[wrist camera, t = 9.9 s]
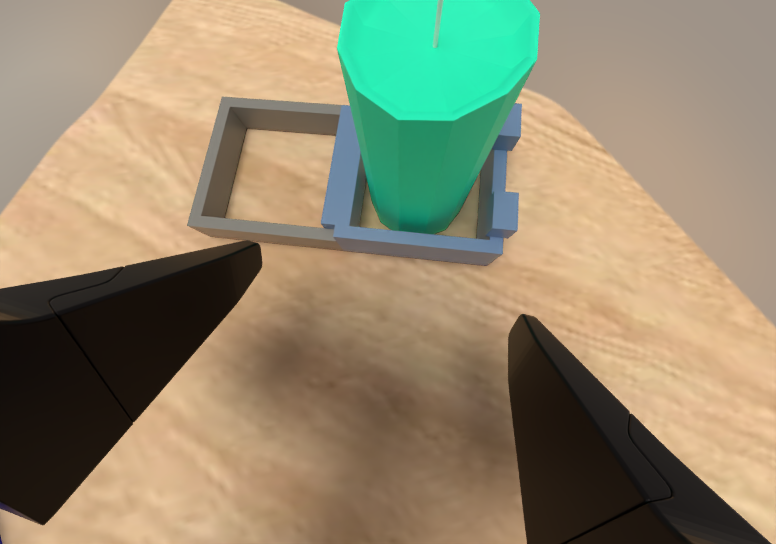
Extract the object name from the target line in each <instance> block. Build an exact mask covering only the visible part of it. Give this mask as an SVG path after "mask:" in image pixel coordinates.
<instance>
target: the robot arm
mask: <svg viewBox="0 0 776 544" xmlns="http://www.w3.org/2000/svg"><path fill="white" fill-rule="evenodd" d="M261 268H262V256H261V247H260V245H259V244H258V243H256V242H252V241H248V240H246V241H241V242H236V243H232V244H227V245H222V246H217V247H213V248H208V249H203V250H198V251H194V252H189V253H184V254H179V255H175V256H170V257H165V258H160V259H156V260H151V261H146V262H141V263H137V264H132V265H127V266H125V267H117V268H113V269H108V270H103V271H98V272H93V273H88V274H83V275H77V276H72V277H66V278H60V279H55V280H49V281H43V282H37V283H31V284H25V285H19V286H14V287H8V288H2V289H0V509H3V510H5V511H8V512H10V513H13V514H15V515H18V516H20V517H23V518H25V519H28V520H30V521H33V522H35V523H38V524H40V525H45V524H46V523H47V522H48V521H49V520H50V519H51V518H52V517H53V516H54V515H55V513H56V512H57V511H58V510H59V509H60V508H61V507H62V505H63V504H64V503H65V502H66V501H67V500H68V499H69V497H70V496H71V495H72V494H73V493H74V492H75V490H76V489H77V488H78V487H79V486H80V485H81V483H82V482H83V481H84V480H85V479H86V478H87V477H88V475H89V474H90V473H91V472H92V471H93V470H94V468H95V467H96V466H97V465H98V464H99V463H100V462H101V460H102V459H103V458H104V457H105V456H106V455H107V453H108V452H109V451H110V450H111V449H112V448H113V446H114V445H115V444H116V443H117V442H118V441H119V440H120V438H121V437H122V436H123V435H124V434H125V433H126V431H127V430H128V429H129V428H130V427H131V426H132V425H133V422H135V421H136V420H137V419H138V417H139V416H140V415H141V414H142V413H143V412H144V410H145V409H146V408H147V407H148V406H149V405H150V403H151V402H152V401H153V400H154V399H155V398H156V397H157V395H158V394H159V393H160V392H161V391H162V390H163V388H164V387H165V386H166V385H167V384H168V383H169V382H170V380H171V379H172V378H173V377H174V376H175V375H176V373H177V372H178V371H179V370H180V369H181V368H182V367H183V365H184V364H185V363H186V362H187V361H188V360H189V358H190V357H191V356H192V355H193V354H194V353H195V352H196V350H197V349H198V348H199V347H200V346H201V345H202V343H203V342H204V341H205V340H206V339H207V338H208V337H209V335H210V334H211V333H212V332H213V331H214V330H215V328H216V327H217V326H218V325H219V324H220V323H221V321H222V320H223V319H224V318H225V317H226V316H227V315H228V313H229V312H230V311H231V310H232V309H233V308H234V306H235V305H236V304H237V303H238V301H239V300H240V299H241V297H242V296H243V295H244V293H245V292H246V290H247V289H248V287H249V286H250V284H251V283H252V282H253V280H254V279H255V277H256V276H257V274H258V273H259V271H260V270H261ZM508 384H509V393H510V402H511V411H512V419H513V428H514V436H515V445H516V453H517V462H518V470H519V479H520V487H521V496H522V504H523V513H524V521H525V530H526V539H527V544H771V543H770V542H769V541H768V540H767V539H766V538H764V537H763V536H762V535H761V534H760V533H759V532H758V531H757V530H756V529H755V528H753V527H752V526H751V525H750V524H749V523H748V522H747V521H746V520H745V519H744V518H743V517H741V516H740V515H739V514H738V513H737V512H736V511H735V510H734V509H733V508H732V507H730V506H729V505H728V504H727V503H726V502H725V501H724V500H723V499H722V498H721V497H719V496H718V495H717V494H716V493H715V492H714V491H713V490H712V489H711V488H710V487H708V486H707V485H706V484H705V483H704V482H703V481H702V480H701V479H700V478H699V477H697V476H696V475H695V474H694V473H693V472H692V471H691V470H690V469H689V468H688V467H687V466H686V465H684V464H683V463H682V462H681V461H680V460H679V459H678V458H677V457H676V456H675V455H674V454H673V453H671V452H670V451H669V450H668V449H667V448H666V447H665V446H664V445H663V444H662V443H661V442H660V441H659V440H658V439H657V438H656V437H655V436H654V435H653V434H652V433H651V432H650V431H649V430H648V429H647V428H646V427H645V426H644V425H643V424H642V423H641V422H640V421H639V420H638V419H637V418H636V417H635V416H634V415H633V414H630V412H629V410H628V409H627V408H626V407H625V406H624V405H623V404H622V403H621V402H620V401H619V400H618V399H617V398H616V397H615V396H614V395H613V394H612V393H611V392H610V391H609V390H608V389H607V388H606V387H605V386H604V385H603V384H602V383H601V382H600V381H599V380H598V379H597V378H596V377H595V376H594V375H593V374H592V373H591V372H590V371H589V370H588V369H587V368H586V367H585V366H584V365H583V364H582V363H581V362H580V361H579V360H578V359H577V358H576V357H575V356H574V355H573V354H572V353H571V352H570V351H569V350H568V349H567V348H566V347H565V346H564V345H563V344H562V343H561V342H560V341H559V340H558V339H557V338H556V337H555V336H554V335H553V334H552V333H551V332H550V331H549V330H548V329H547V328H546V327H545V326H544V325H543V324H542V323H541V322H540V321H539V320H538V319H537V318H536V317H534V316H530V315H526V314H521V315H520V316H519V317H518V319H517V320H516V322H515V324H514V325H513V327H512V329H511V330H510V333H509V337H508Z"/></svg>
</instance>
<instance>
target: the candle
mask: <svg viewBox="0 0 776 544" xmlns="http://www.w3.org/2000/svg"><path fill="white" fill-rule="evenodd" d="M539 18H540V13H539V11H538V10H537V9H536V8H535V6H534V5H533V4H532V2H531V1H530V0H349V1H348V2H346V3H345V6H344V12H343V17H342V23H341V28H340V34H339V40H338V45H337V50H338V55H339V59H340V63H341V68H342V72H343V77H344V81H345V85H346V90H347V94H348V99H349V103H350V107H351V112H352V116H353V120H354V125H355V129H356V134H357V138H358V142H359V147H360V151H361V156H362V160H363V164H364V169H365V173H366V178H367V182H368V186H369V191H370V195H371V199H372V203H373V205H374V208H375V210H376V212H377V215H378V217H379V219H380V222H381V223H383V224H384V225H385V226H387V227H388V228H389V229H391V230H393V231H403V232H413V233H423V234H436V233H438V232H441V231H443V230H446V228H447V227H448V226H449V224H450V223H451V222H452V221H453V219H454V218H455V217H456V215H457V214H458V213H459V212H460V210H461V208H462V206H463V204H464V202H465V200H466V198H467V196H468V194H469V192H470V190H471V188H472V186H473V184H474V182H475V180H476V178H477V176H478V174H479V172H480V170H481V168H482V166H483V164H484V162H485V161H486V159H487V157H488V155H489V153H490V151H491V149H492V147H493V145H494V143H495V141H496V139H497V137H498V135H499V133H500V131H501V129H502V127H503V125H504V123H505V121H506V119H507V117H508V115H509V113H510V111H511V109H512V108H513V106H514V104H515V102H516V100H517V98H518V96H519V94H520V92H521V90H522V88H523V86H524V84H525V82H526V80H527V78H528V76H529V74H530V72H531V70H532V68H533V66H534V64H535V62H536V60H537V51H538V36H539V20H540V19H539Z"/></svg>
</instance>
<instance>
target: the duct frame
mask: <svg viewBox="0 0 776 544" xmlns="http://www.w3.org/2000/svg"><path fill="white" fill-rule="evenodd" d="M521 109H522V104H517V103H515V104H514V106H513V108H512V109H511V111H510V113H509V115H508V117H507V119H506V121H505V123H504V125H503V127H502V129H501V131H500V133H499V135H498V137H497V139H496V141H495V143H494V145H493V147H492V149H491V151H490V153H489V155H488V157H487V159H486V161H485V162H484V164H483V166H482V168H481V175H480V191H479V207H478V223H477V239H473V238H463V237H453V236H443V235H433V234H423V233H413V232H403V231H393V230H383V229H373V228H363V227H359V225H360V218H361V211H362V204H363V198H364V191H365V184H366V173H365V169H364V164H363V160H362V156H361V151H360V147H359V142H358V138H357V134H356V129H355V125H354V120H353V116H352V112H351V107H350V106H348V105H332V104H318V103H304V102H289V101H275V100H261V99H247V98H233V97H222V99H221V102H220V106H219V110H218V114H217V117H216V121H215V125H214V128H213V132H212V136H211V139H210V143H209V147H208V150H207V154H206V158H205V161H204V165H203V169H202V172H201V176H200V180H199V183H198V187H197V191H196V194H195V198H194V202H193V205H192V209H191V213H190V216H189V220H188V224H187V226H189V227H191V228H193V229H195V230H197V231H199V232H201V233H203V234H206V235H208V236H210V237H220V238H229V239H239V240H248V241H257V242H267V243H276V244H286V245H295V246H305V247H314V248H323V249H333V250H342V251H352V252H361V253H371V254H380V255H389V256H399V257H408V258H418V259H427V260H437V261H446V262H455V263H465V264H474V265H484V266H487V265H488V264H489V263H491V262H492V261H494V260H495V259H497V258H498V257H499V256H501V255H502V254H503V238H509V237H510V236H512V235H513V234H514V233H515V232H516V231H517V229H518V199H519V193H513V192H505V186H506V163H507V151H512V149H513V148H514V146H515V145H516V143H517V142H518V140H519V138H520V137H521ZM246 128H250V129H262V130H275V131H288V132H301V133H314V134H326V135H336V140H335V145H334V151H333V157H332V163H331V168H330V174H329V180H328V185H327V191H326V197H325V202H324V208H323V214H322V219H321V224H322V225H323V227H324V228H316V227H306V226H297V225H287V224H277V223H267V222H257V221H247V220H237V219H227V218H225V214H226V210H227V206H228V201H229V197H230V193H231V189H232V185H233V181H234V177H235V173H236V169H237V165H238V161H239V157H240V153H241V149H242V145H243V141H244V137H245V132H246Z"/></svg>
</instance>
